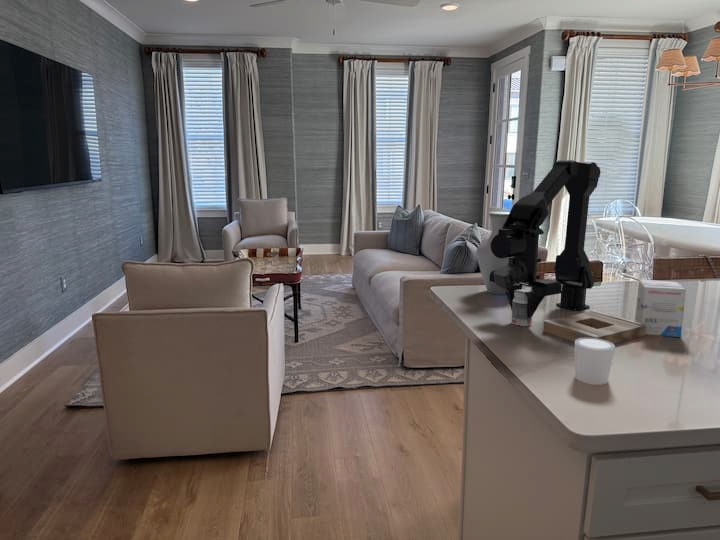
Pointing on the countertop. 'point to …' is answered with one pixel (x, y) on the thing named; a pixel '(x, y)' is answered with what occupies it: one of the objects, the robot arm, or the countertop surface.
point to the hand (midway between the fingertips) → (521, 315)
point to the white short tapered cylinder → (593, 360)
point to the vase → (487, 257)
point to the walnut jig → (595, 327)
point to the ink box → (660, 307)
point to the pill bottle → (520, 309)
